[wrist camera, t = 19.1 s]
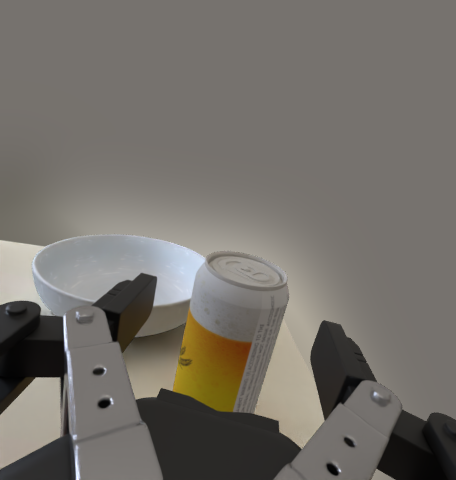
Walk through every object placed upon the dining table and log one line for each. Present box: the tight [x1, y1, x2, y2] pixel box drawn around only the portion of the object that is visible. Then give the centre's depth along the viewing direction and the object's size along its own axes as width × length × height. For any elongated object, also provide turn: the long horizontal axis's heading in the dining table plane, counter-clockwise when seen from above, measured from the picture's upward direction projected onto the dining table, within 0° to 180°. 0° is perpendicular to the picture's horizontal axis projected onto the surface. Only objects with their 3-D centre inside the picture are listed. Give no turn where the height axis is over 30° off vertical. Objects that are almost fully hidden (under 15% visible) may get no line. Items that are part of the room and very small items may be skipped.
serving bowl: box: [32, 234, 206, 337], centre depth 36 cm, size 21×21×7 cm
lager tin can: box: [173, 251, 289, 414], centre depth 20 cm, size 6×6×15 cm
